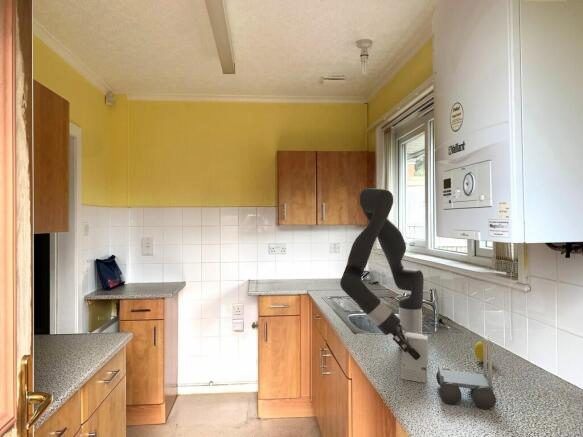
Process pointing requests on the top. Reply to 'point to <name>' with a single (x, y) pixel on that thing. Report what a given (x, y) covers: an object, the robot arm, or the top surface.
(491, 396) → the trolley
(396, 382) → the top surface
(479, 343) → the lemon
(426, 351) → the skincare box
